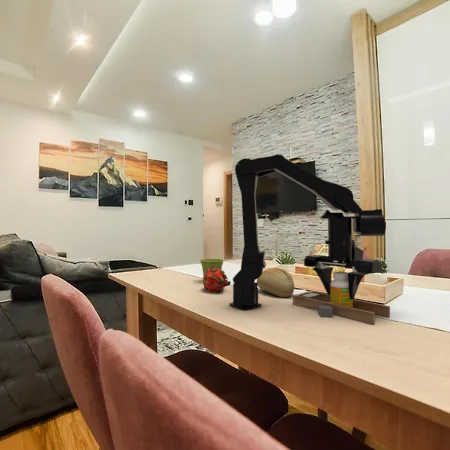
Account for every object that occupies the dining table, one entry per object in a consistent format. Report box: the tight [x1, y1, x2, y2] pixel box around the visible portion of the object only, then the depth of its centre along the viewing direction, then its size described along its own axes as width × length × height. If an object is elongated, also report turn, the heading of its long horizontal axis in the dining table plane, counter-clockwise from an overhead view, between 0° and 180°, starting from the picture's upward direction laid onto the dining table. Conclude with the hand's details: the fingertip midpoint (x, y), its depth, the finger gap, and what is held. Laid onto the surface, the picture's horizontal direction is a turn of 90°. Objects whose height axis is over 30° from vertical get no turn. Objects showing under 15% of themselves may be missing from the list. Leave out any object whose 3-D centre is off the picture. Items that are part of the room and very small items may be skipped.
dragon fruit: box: [202, 267, 232, 294], centre depth 100 cm, size 8×8×12 cm
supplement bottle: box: [330, 271, 353, 308], centre depth 76 cm, size 5×5×10 cm
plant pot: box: [199, 258, 225, 275], centre depth 115 cm, size 9×9×9 cm
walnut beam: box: [292, 290, 391, 326], centre depth 77 cm, size 9×22×3 cm, turn 39°
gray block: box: [317, 305, 334, 318], centre depth 73 cm, size 3×3×2 cm
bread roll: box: [256, 267, 295, 298], centre depth 96 cm, size 10×15×8 cm, turn 30°
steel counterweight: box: [302, 293, 320, 300], centre depth 83 cm, size 5×2×2 cm, turn 129°
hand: (340, 296), depth 77 cm, fingers open, 6 cm apart
